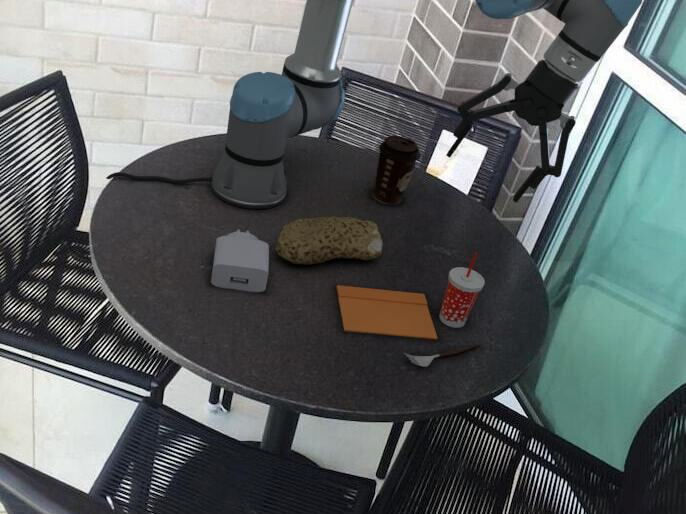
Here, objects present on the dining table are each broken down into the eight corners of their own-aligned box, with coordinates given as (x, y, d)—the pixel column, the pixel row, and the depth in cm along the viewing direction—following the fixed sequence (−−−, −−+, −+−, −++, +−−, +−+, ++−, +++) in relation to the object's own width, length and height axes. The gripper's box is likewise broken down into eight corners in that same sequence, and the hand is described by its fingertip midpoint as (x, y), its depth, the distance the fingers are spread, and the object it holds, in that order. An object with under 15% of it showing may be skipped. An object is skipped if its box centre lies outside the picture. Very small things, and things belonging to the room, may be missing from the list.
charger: (266, 245, 150) (264, 293, 138) (216, 238, 149) (210, 286, 136) (270, 223, 147) (269, 270, 135) (219, 216, 146) (213, 263, 134)
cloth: (344, 331, 133) (344, 328, 133) (336, 287, 143) (336, 285, 142) (437, 339, 136) (438, 336, 135) (423, 296, 145) (424, 293, 145)
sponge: (363, 242, 159) (268, 217, 152) (381, 214, 154) (284, 187, 147) (372, 292, 150) (271, 267, 143) (391, 263, 145) (288, 236, 138)
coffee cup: (407, 193, 177) (422, 139, 170) (407, 211, 170) (423, 156, 163) (368, 184, 177) (382, 130, 170) (366, 202, 170) (380, 147, 163)
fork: (485, 351, 135) (488, 342, 134) (409, 371, 127) (412, 362, 126) (475, 341, 137) (478, 332, 136) (399, 361, 129) (402, 351, 128)
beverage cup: (455, 306, 145) (478, 240, 137) (476, 327, 141) (501, 260, 133) (428, 311, 142) (450, 245, 134) (448, 333, 138) (472, 266, 130)
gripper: (492, 30, 125) (417, 141, 136) (627, 121, 125) (541, 225, 135) (497, 24, 132) (425, 130, 142) (625, 109, 131) (543, 210, 142)
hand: (481, 177), depth 139 cm, fingers open, 13 cm apart
